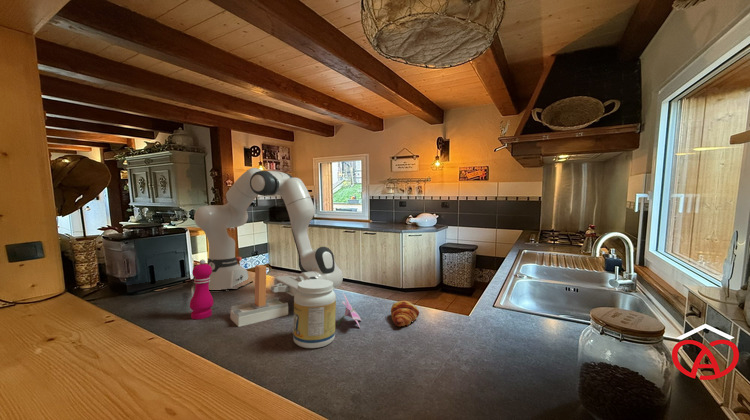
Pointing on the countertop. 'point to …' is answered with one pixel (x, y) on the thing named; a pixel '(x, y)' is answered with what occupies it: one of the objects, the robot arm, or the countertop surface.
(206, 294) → the pepper mill
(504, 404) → the countertop surface
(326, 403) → the countertop surface
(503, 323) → the countertop surface
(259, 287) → the lever
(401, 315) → the croissant
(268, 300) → the white base plate
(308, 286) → the supplement tub
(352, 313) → the lily
